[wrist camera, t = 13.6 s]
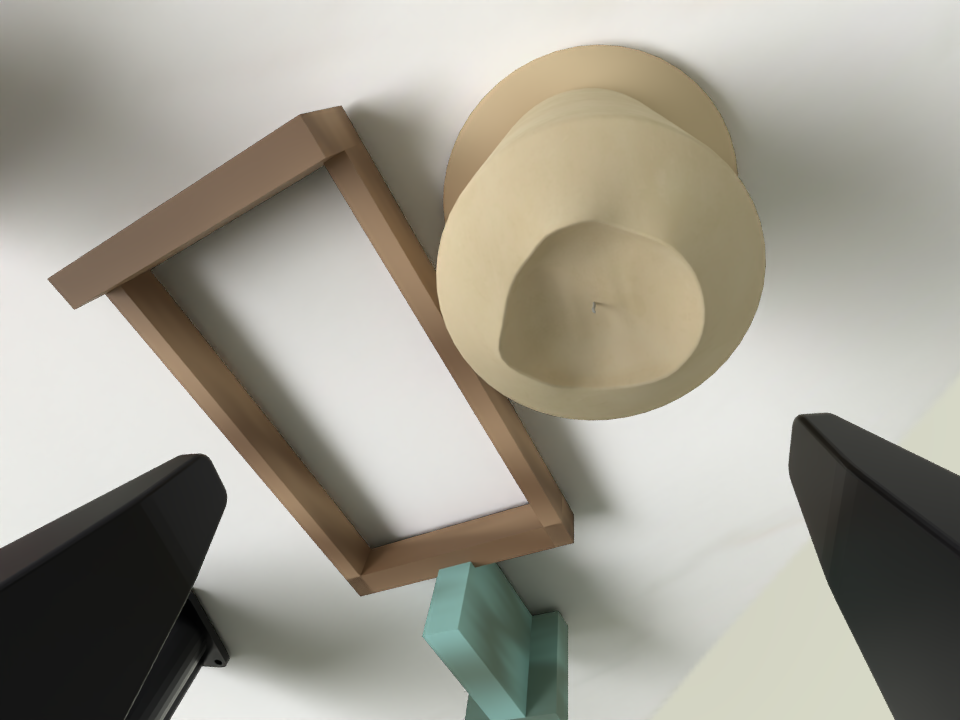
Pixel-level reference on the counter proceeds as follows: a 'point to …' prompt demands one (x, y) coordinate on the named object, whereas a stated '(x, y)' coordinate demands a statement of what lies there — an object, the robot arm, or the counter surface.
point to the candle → (599, 260)
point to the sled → (442, 553)
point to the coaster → (577, 70)
